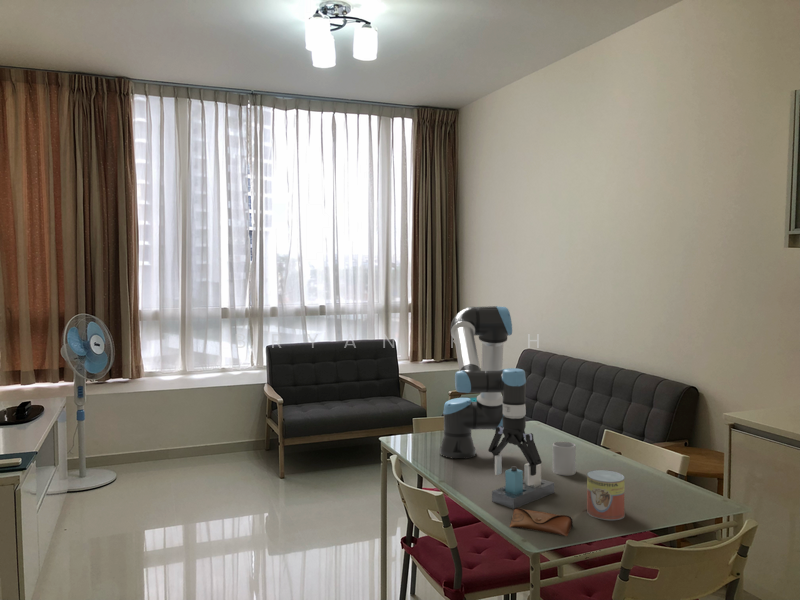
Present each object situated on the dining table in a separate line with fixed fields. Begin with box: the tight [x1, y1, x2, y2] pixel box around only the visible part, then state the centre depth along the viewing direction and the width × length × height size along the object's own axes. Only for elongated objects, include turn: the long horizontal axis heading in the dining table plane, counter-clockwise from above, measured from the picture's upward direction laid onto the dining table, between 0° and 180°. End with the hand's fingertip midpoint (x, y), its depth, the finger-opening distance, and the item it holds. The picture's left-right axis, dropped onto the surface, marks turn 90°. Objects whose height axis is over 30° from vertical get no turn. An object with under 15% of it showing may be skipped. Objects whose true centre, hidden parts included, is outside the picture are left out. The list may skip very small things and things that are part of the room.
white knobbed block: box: [523, 462, 542, 488], centre depth 203 cm, size 4×4×11 cm
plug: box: [504, 465, 524, 495], centre depth 197 cm, size 4×4×11 cm
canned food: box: [586, 469, 626, 521], centre depth 187 cm, size 11×11×12 cm
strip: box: [491, 478, 555, 510], centre depth 200 cm, size 22×9×4 cm, turn 131°
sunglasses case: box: [508, 507, 574, 537], centre depth 178 cm, size 18×7×7 cm
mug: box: [552, 440, 577, 476], centre depth 228 cm, size 12×8×11 cm
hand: (514, 479), depth 197 cm, fingers open, 13 cm apart
